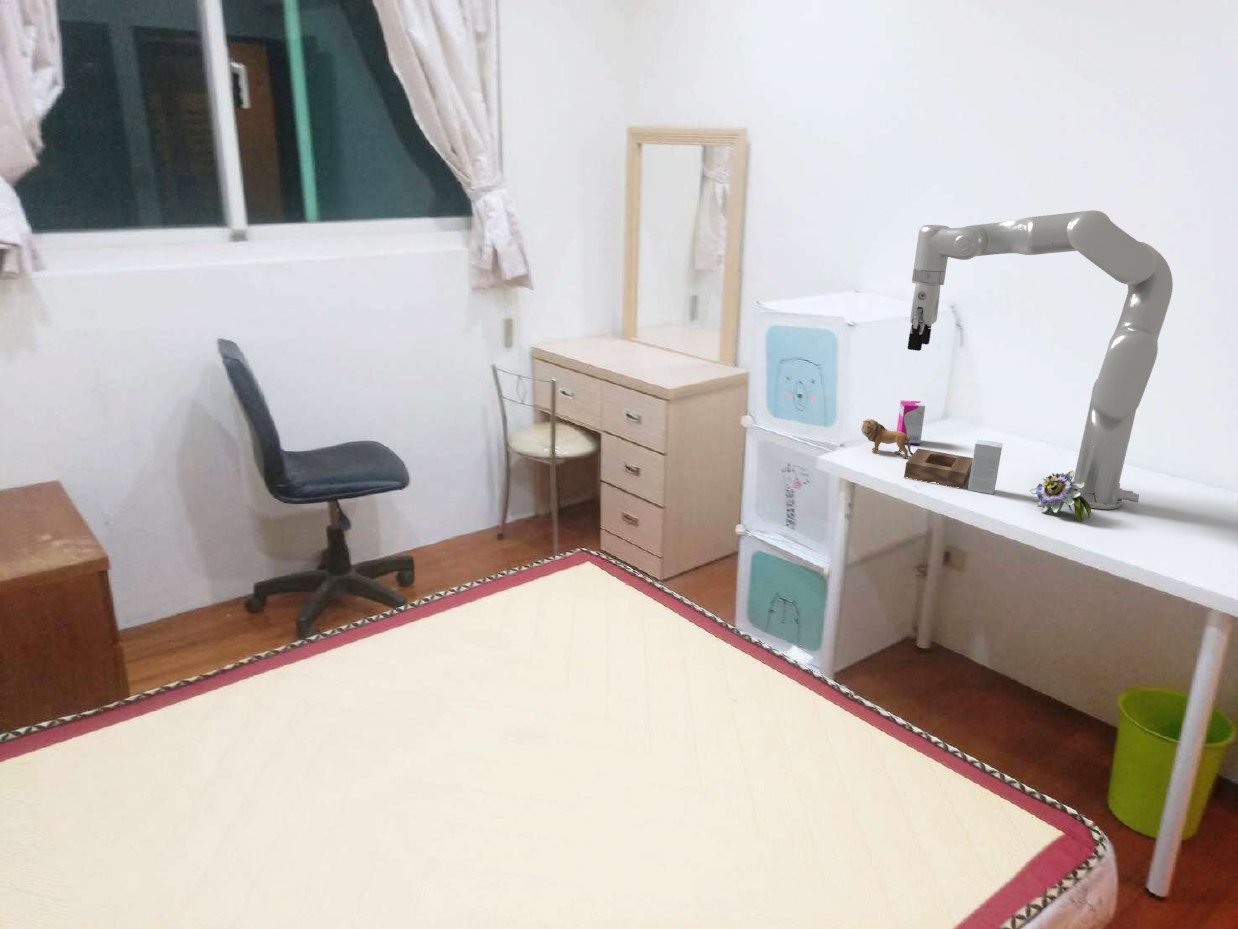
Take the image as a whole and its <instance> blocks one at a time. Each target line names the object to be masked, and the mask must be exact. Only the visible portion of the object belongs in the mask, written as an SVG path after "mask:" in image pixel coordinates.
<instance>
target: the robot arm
mask: <svg viewBox="0 0 1238 929" xmlns="http://www.w3.org/2000/svg"><path fill="white" fill-rule="evenodd" d="M1066 252H1079V253H1080V254H1081V255H1082V256H1083V257H1084V258H1086V259H1087V260H1088V261H1090V262H1091V263H1092V264H1094V265H1095V266H1097V268H1099V269H1101V270H1102V271H1103V272H1104V273H1106V274H1107V275H1109V276H1110V277H1111V278H1112V279H1114V280H1115V281H1117V282H1118V283H1121V284H1123V285H1127V294H1126V299H1125V300H1124V303H1123V307H1122V312H1121V314H1120V317H1119V320H1118V323H1117V324H1116V328H1115V330H1114V333H1113V335H1111V338H1110V340H1109V342H1108V346H1107V350H1106V353H1105V356H1104V359H1103V362H1102V365H1101V368H1100V370H1099V373H1098V377H1097V379H1096V380H1095V382H1094V384H1093V387H1092V391H1091V397H1090V402H1089V407H1088V411H1087V416H1086V422H1085V426H1084V430H1083V435H1082V439H1081V442H1080V449H1079V451H1078V452H1079V453H1078V457H1077V462H1076V467H1075V472H1074V477H1073V479H1072V481H1073V482H1082V483H1083V482H1084V483H1085V486H1084V487H1082V488H1080V489H1078V490H1077V491H1078V492H1079V493H1080V494H1082V495H1080V496H1082V497H1083V498H1084V499H1085V500H1086V501H1087V502H1088V503H1089V505H1090V507H1091V509H1096V510H1097V509H1098V510H1115V509H1119V508H1121V507H1122V505H1123V500H1125V501H1129V502H1134V503H1137V504H1138V502H1139V499H1140V494H1137V493H1134V491H1132V490H1126V489H1123V488H1121V483H1120V481H1121V478H1122V477H1121V476H1122V472H1123V470H1124V464H1125V459H1126V456H1127V452H1128V447H1129V442H1130V439H1131V435H1132V430H1133V426H1134V421H1135V417H1136V413H1137V412H1136V411H1137V410H1138V408H1139V406H1140V403H1141V401H1142V398H1143V396H1144V393H1145V390H1146V389H1147V385H1148V382H1149V380H1150V376H1151V374H1152V371H1153V368H1154V366H1155V363H1156V360H1157V356H1158V350H1159V346H1158V343H1159V342H1158V340H1159V337H1160V334H1161V331H1162V327H1163V324H1164V323H1165V319H1166V315H1167V312H1168V310H1169V306H1170V302H1171V299H1172V295H1173V285H1174V283H1173V282H1174V281H1173V275H1172V270H1171V269H1170V265H1169V263H1168V262H1167V260H1166V259H1165V257H1164V256H1162V254H1161V253H1160V252H1159V251H1158V250H1157V249H1156V248H1154V247H1153V246H1152V245H1150V244H1148V243H1147V242H1143V241H1138V240H1137V239H1136V238H1135V237H1133V236H1131V235H1130V234H1128V233H1127V232H1126V231H1124V230H1123V229H1122V228H1121V227H1119V226H1118V225H1117V224H1115V223H1114V222H1113V221H1111V219H1110V217H1109V216H1108V215H1107V214H1106V213H1105V212H1103V211H1100V210H1094V209H1093V210H1085V211H1084V210H1083V211H1075V212H1065V213H1057V214H1047V215H1039V216H1029V217H1025V218H1021V219H1016V220H1010V221H1009V220H1008V221H1007V220H1006V221H999V222H992V223H982V224H971V225H967V226H963V227H949V226H947V225H941V224H925V225H922V226H921V227H920V228H919V230H918V235H917V242H916V249H915V257H914V263H913V271H912V278H911V283H912V284H915V286H914V287H915V288H914V291H913V299H912V303H911V304H912V305H911V311H910V320H909V322H910V324H911V327H910V329H909V330H910V331H909V335H908V342H907V349H908V350H911V351H915V352H916V351H918V352H919V351H922V345H929V344H930V340H931V332H932V325H933V324H935V323H936V322H937V320H938V313H939V305H940V295H941V286H944V285H945V279H946V272H947V265H948V259H949V258H951V259H955V260H960V261H967V260H971V259H973V258H976V257H980V256H981V257H983V256H992V255H1005V254H1017V255H1018V254H1019V255H1025V256H1037V255H1047V254H1056V253H1066ZM1093 492H1096V496H1097V500H1098V501H1097V502H1095V498H1094V495H1093V494H1092V493H1093ZM1083 493H1091V494H1083ZM1082 505H1083V504H1082ZM1083 507H1084V505H1083Z"/></svg>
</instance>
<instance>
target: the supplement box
mask: <svg viewBox="0 0 1238 929" xmlns="http://www.w3.org/2000/svg"><path fill="white" fill-rule="evenodd" d="M925 411H926V405H925V404H924V403H923V402H922V401H919V400H902V399H901V400H900V403H899V410H898V418H897V426H896V431H900V432H903V433H905V434H906V435H907V437H908V439H909V443H910V446H921V440H922V433H923V427H924V418H925ZM906 445H907V441H906V440H905V446H906Z"/></svg>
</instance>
